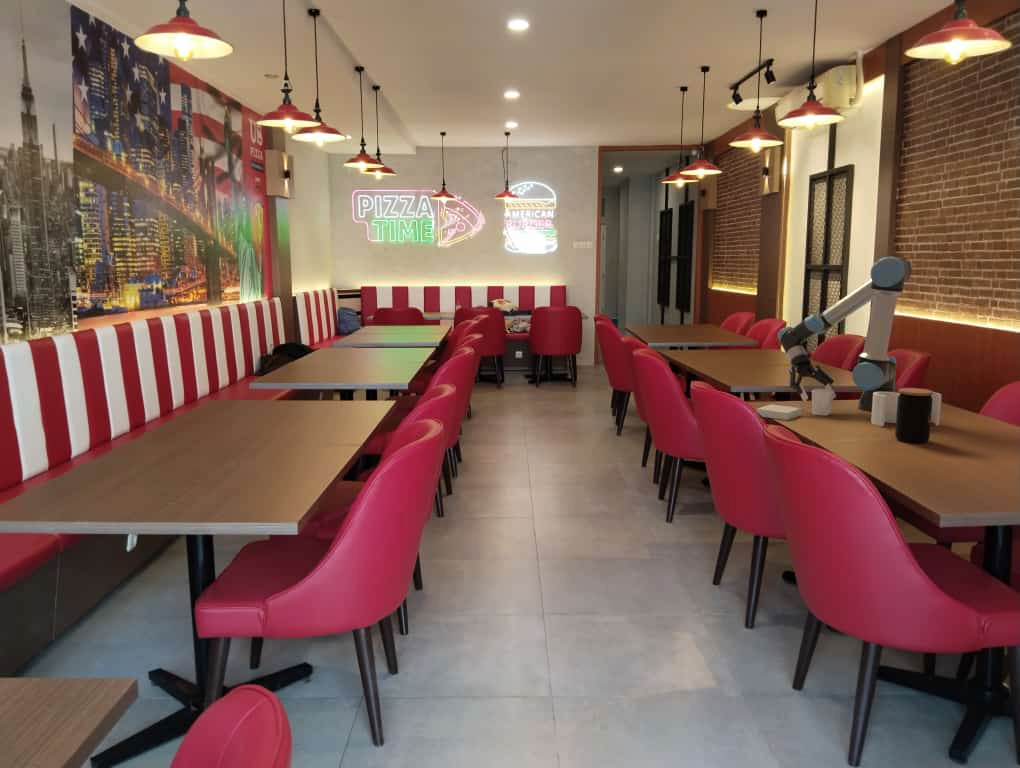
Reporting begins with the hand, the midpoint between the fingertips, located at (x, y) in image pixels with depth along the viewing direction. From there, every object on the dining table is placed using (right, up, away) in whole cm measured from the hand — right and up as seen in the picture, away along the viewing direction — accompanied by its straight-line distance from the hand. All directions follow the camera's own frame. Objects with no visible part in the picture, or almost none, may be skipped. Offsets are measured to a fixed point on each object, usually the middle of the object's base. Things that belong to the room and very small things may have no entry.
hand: (820, 398), depth 310 cm
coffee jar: (+13, -14, -46) cm, 50 cm away
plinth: (-18, -7, -2) cm, 19 cm away
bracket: (+25, -10, -19) cm, 33 cm away
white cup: (+1, -7, +1) cm, 7 cm away
